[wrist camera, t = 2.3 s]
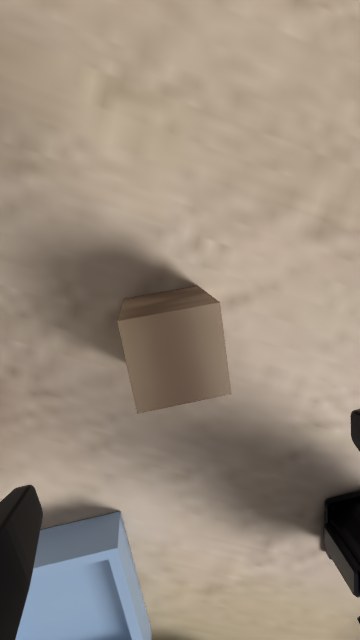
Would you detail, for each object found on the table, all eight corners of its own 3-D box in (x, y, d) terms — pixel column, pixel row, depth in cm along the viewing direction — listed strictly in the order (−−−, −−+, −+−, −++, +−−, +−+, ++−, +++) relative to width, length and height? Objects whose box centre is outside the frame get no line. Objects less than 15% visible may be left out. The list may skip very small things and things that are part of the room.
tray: (120, 511, 24) (117, 547, 21) (151, 628, 28) (152, 673, 25) (-32, 546, 23) (-56, 590, 20) (20, 663, 27) (6, 714, 24)
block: (197, 285, 20) (219, 302, 15) (207, 353, 22) (231, 394, 16) (123, 298, 20) (117, 321, 14) (138, 367, 21) (137, 413, 16)
